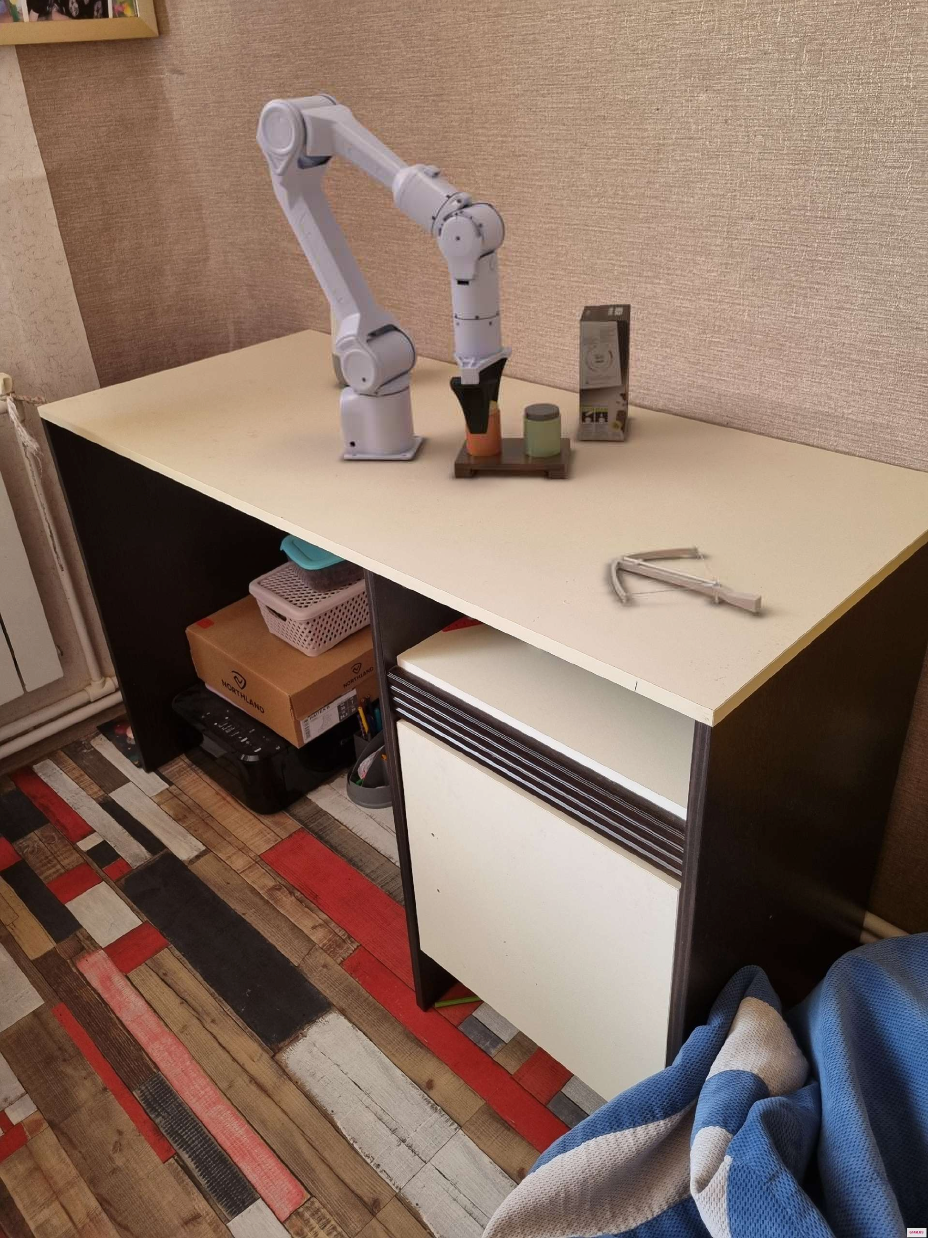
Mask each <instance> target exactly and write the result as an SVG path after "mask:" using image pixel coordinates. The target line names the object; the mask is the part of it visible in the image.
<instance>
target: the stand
mask: <svg viewBox="0 0 928 1238" xmlns="http://www.w3.org/2000/svg"><path fill="white" fill-rule="evenodd" d="M571 447H572V446H571V437H561V452H560V453H558V454H556V455H554V456H550V457H533V456H529V455H527V454H525V452H524V437H502V451H501V452H500V453H498V454H495V455H492V456H485V457H479V456H473V455H470V454H468V453H467V447H466V439H465V440H464V442H463V443H462V446H461V448H460V450H459V452H458V454H457V457H456V458H455V460H454V463H453V465H454V466H453V467H454V478H456V479H471V477H472V475H473V472H474V470H533V471H535V470H537V471H539V470H541V471H543V470H544V471H545V470H546V471H548V479H551V480H552V479H554V480H557V479H558V480H560V479H561V480H564V479H565V478H566V474H567V469H568V465H569V461H570V455H571V451H572V449H571Z"/></svg>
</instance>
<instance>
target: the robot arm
mask: <svg viewBox="0 0 928 1238" xmlns="http://www.w3.org/2000/svg"><path fill="white" fill-rule="evenodd" d="M255 139H256V141H257V143H258V146H259V147H260V149H261V151H262V154H263V155H264V157H265V159H266V162H267V164H268V169H269V174H270V178H271V182H272V188H273V191H274V192H273V193H274V194H275V198H276V199H277V202H278V203H279V205H280V207H281V209H282V211H283V213H284V215H285V217H286V219H287V221H288V223H289V226H290V227H291V229H292V231H293V233H294V235H295V237H296V239H297V241H298V243H299V245H300V247H301V249H302V251H303V254H304V255H305V257H306V259H307V261H308V263H309V265H310V267H311V269H312V271H313V273H314V275H315V277H316V279H317V282H318V283H319V285H320V287H321V289H322V291H323V293H324V296H325V297H326V299H327V301H328V304H329V305H331V307H332V309H333V311H334V313H335V315H336V317H337V319H338V321H339V323H340V328H339V332H338V335H337V338H336V341H335V348H336V350H337V352H338V354H339V357H340V361H341V369H342V373H343V376H344V378H345V380H346V381H347V383H348V384H349V385H350V386H351V387H347V386H345V387H344V388H343V389H342V390H341V393H340V397H339V419H340V425H341V433H342V441H343V446H344V447H343V448H344V454H343V459H344V460H394V461H395V460H397V461H398V460H403V461H405V460H406V461H407V460H411V459H413V457H414V456H415V454H416V452H417V451H418V449H419V447H420V446H421V443H422V442H423V440H424V436H423V435H415V428H414V419H413V418H414V417H413V408H412V407H413V406H412V396H411V385H410V381H411V380H412V376H411V372H412V370H414V368H415V367H416V365H417V361H418V349H417V348H418V347H417V345H416V343H415V341H414V339H413V338H412V336H411V335H410V334H409V333H408V332H407V331H406V330H404V328H402V326H401V325H400V323H399V321H398V319H397V317H396V315H394V314H393V313H391V312H389V311H388V310H386V309H384V308H383V307H380V305H378V302H377V301H376V299H375V297H374V294H373V292H372V291H371V289H370V286H369V284H368V282H367V280H366V278H365V276H364V274H363V271H362V270H361V268H360V265H359V264H358V262H357V260H356V258H355V255H354V253H353V251H352V249H351V247H350V245H349V243H348V241H347V239H346V237H345V235H344V232H343V231H342V229H341V227H340V224H339V222H338V220H337V218H336V216H335V214H334V212H333V210H332V207H331V205H330V204H329V202H328V199H327V197H326V195H325V193H324V190H323V189H322V185H323V182H324V179H325V175H326V173H327V171H328V169H329V168H330V165H331V164H332V163H333V160H334V158H335V157H340V158H342V159H343V160H345V161H346V162H348V163H349V164H350V165H352V166H353V167H354V168H356V169H358V170H360V171H361V172H362V173H364V174H366V175H367V176H368V177H370V178H371V179H372V180H374V181H375V182H377V183H379V184H380V185H382V186H383V187H385V188H386V189H387V190H389V191H390V192H391V193H392V195H393V203H394V206H395V208H396V209H397V210H398V211H400V212H401V213H402V214H404V215H405V216H406V217H407V218H408V219H410V220H411V221H412V222H414V223H415V224H416V225H418V226H419V227H420V228H422V229H423V230H424V231H425V232H427V233H428V234H429V235H431V236H432V237H433V238H435V240H436V241H437V246H438V249H439V251H440V253H441V255H442V256H443V257H444V258H445V260H446V263H447V268H448V274H449V277H450V290H451V291H450V292H451V305H452V320H453V335H454V347H455V349H454V352H453V356H454V357H453V358H454V360H455V362H456V363H457V365H458V366H459V369H460V376H452V377H451V378H450V380H449V386H450V389H451V391H452V393H453V394H454V395H455V397H456V398H457V400H458V403H459V405H460V407H461V410H462V413H463V417H464V421H465V420H466V424H467V427H468V430H469V432H470V434H486V432H487V428H488V422H489V411H490V402H491V401H495V402H497V403H498V404H499V396H500V395H499V394H500V386H501V380H502V376H503V372H504V369H505V366H506V364H507V361H508V359H509V358H511V356H512V355H513V348H512V347H503V343H502V341H503V340H502V321H501V297H500V278H499V277H500V275H499V259H498V258H499V257H498V255H499V254H498V250H499V248H501V246H502V245H503V242H504V240H505V236H506V225H505V221H504V219H503V216H502V214H501V213H500V211H498V210H497V208H495V206H494V204H492V203H491V202H488V201H485V200H484V201H483V200H480V201H472V195H470V194H469V193H468V192H467V191H464V192H461V191H460V190H458V189H457V188H456V187H454V186H453V185H452V184H451V183H449V182H448V181H447V180H445V178H443V177H441V176H440V173H441V170H440V169H439V168H438V167H436V165H434V164H430V165H426V164H424V163H417V164H414V165H411V166H410V165H409V164H408V163H407V162H405V161H404V160H403V159H401V158H400V157H399V156H398V155H397V154H396V153H395V152H393V151H392V150H391V149H390V148H389V147H388V146H387V145H385V144H384V143H383V142H382V141H381V140H380V139H379V138H378V137H377V136H375V135H374V134H373V133H372V132H370V131H369V129H367V128H366V127H365V126H364V125H362V124H361V123H360V122H359V121H358V120H357V119H356V118H355V116H354V115H353V112H352V111H351V109H350V108H349V107H347V106H346V105H343V104H340V103H339V102H338V100H336V98H334V96H331V95H329V94H327V93H318V94H315V95H313V96H305V97H298V98H297V97H296V98H288V99H283V98H277V99H272V100H270V101H269V102H267V103H265V105H264V106H263V108H262V109H261V112H260V116H259V121H258V127H257V132H256V137H255ZM367 336H369V337H371V338H370V339H367V340H366V337H367Z"/></svg>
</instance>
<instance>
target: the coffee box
mask: <svg viewBox="0 0 928 1238" xmlns="http://www.w3.org/2000/svg"><path fill="white" fill-rule="evenodd" d="M631 308H632V306H631V304H630V303H614V304H601V305H585V306H584V307H583V310H582V313H581V316H580V319H579V341H578V342H579V343H578V345H579V347H578V348H579V349H578V350H579V352H578V353H579V354H578V355H579V358H578V359H579V361H578V362H579V363H578V366H579V367H578V372H579V373H578V375H579V377H578V381H579V382H578V384H579V385H578V391H579V392H578V421H579V422H578V425H579V426H578V439H579V440H580V441H618V442H620V441H621V442H622V441H624V440H625V438H626V431H627V425H628V420H629V419H628V418H629V397H630V396H629V395H630V394H629V391H630V357H631V355H630V353H631V350H630V349H631V311H632V309H631Z"/></svg>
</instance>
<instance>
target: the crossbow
mask: <svg viewBox="0 0 928 1238" xmlns="http://www.w3.org/2000/svg"><path fill="white" fill-rule="evenodd" d="M693 555H694V556H695V555H699V556H700V558H701V560H702V561H703V562H704V565H705V566H706V568H707V570H708V571H709V574H710V575H711V577H712V578H713V579H711V578H709V579H707V578H705V577H701V576H697V575H693V574H690V573H686V572H683V571H679V570H675V569H671V568H668V567H664V566H660V565H656V564H653V563H649V562H646V561H644V560H647V559H653V558H654V559H655V558H665V557H672V556H674V557H675V556H693ZM610 567H611V579H612V583H613V585H614V588H615V591H616V592H617V594H618V595H619V597H620V598H621V602H623V603H627V596H632V595H644V594H652V593H662V592H663V593H664V592H673V591H683V590H684V591H685V590H696V591H700V592H703V593H707V594H710V595H712V599H714V600H715V603H716V604H719V603H720V602H722V601H725V602H726V603H729V604H731V605H734V606H737V607H739V608H742V609H744V610H746V611H749V612H752V613H754V614H755V613H756V612H757V611H759V610H760V609H761V608H762V595H759V594H754V593H748V592H742V591H737V590H734V589H732V588H731V587H729V586H727V585H725V584H723V583H721V582H717V580H716V578H715V576H714V575H713V573H712V571H711V570H710V568H709V566H708V564H707V562H706V560H705V559H704V557H703V556H702V554H701V552H700V551H699V546H695V545H693V546H689V547H687V546H686V547H670V548H661V549H650V550H649V549H648V550H642V551H636V552H631V553H627V554H622V555H620V556H619V557H617V558H615V559H613V561H612V564H611V565H610ZM619 569H621V570H626V571H629V572H631V573H636V574H639V575H644V576H646V577H647V576H648V577H651V578H654V579H658V580H661V581H665V582H667V583H670V584H671V583H672V584H675V585H679V586H682V587H685V588H675V589H665V590H655V591H645V592H644V591H643V592H634V593H626V592H625V591H624V589H623V587H622V586H621V584H620V581H619V580H618V577H617V571H618V570H619Z"/></svg>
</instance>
